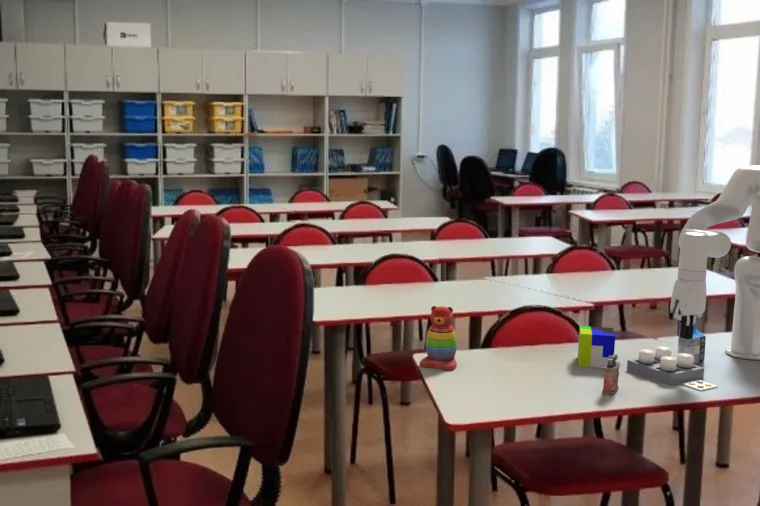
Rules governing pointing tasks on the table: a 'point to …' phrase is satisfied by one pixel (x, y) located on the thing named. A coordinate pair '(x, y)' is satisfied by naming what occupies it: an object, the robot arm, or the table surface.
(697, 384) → the pattern card
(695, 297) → the robot arm
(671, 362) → the button
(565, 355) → the table surface
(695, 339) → the label tape box
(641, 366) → the button board
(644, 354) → the button
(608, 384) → the lighter
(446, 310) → the stacking bear
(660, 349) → the button
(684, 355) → the button
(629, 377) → the table surface
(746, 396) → the table surface
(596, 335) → the puzzle toy
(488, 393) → the table surface
